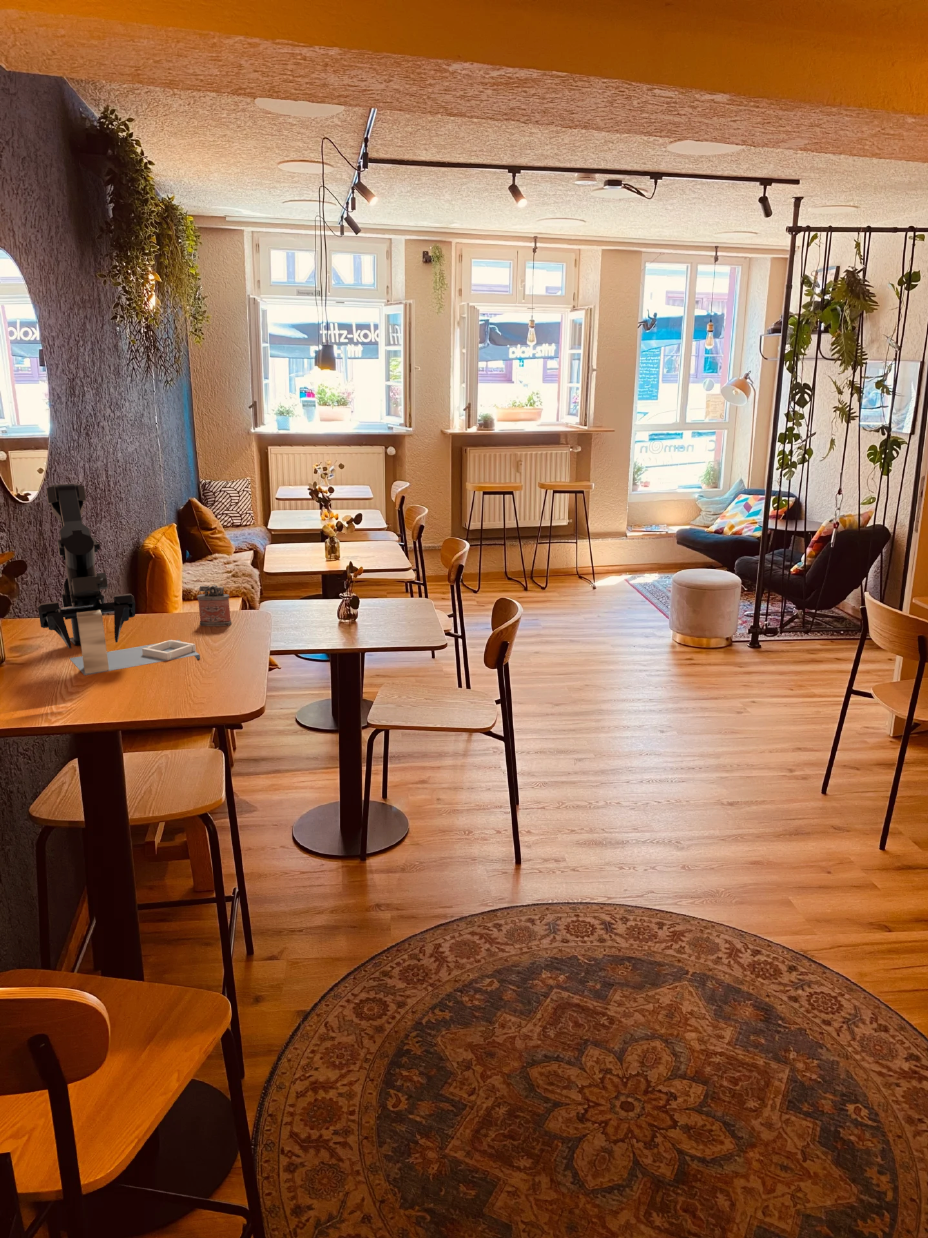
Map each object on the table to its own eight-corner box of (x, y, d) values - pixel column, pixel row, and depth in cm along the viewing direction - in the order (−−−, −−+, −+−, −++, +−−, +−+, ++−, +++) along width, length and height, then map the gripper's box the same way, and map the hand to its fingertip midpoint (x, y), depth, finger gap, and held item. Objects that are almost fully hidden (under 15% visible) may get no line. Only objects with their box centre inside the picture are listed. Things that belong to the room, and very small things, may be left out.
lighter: (233, 622, 229) (230, 584, 226) (228, 626, 226) (225, 587, 223) (202, 622, 230) (199, 584, 227) (197, 625, 226) (193, 587, 224)
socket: (142, 655, 199) (141, 648, 198) (171, 646, 205) (170, 639, 205) (167, 660, 195) (167, 653, 194) (195, 650, 201) (195, 644, 201)
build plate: (70, 662, 198) (69, 658, 197) (179, 643, 211) (178, 639, 210) (85, 679, 186) (84, 675, 185) (200, 658, 199) (199, 654, 198)
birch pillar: (83, 667, 190) (76, 612, 187) (107, 664, 192) (100, 609, 189) (85, 673, 186) (78, 617, 183) (109, 670, 188) (102, 614, 185)
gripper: (32, 565, 183) (41, 630, 176) (128, 556, 191) (141, 618, 184) (36, 595, 192) (45, 658, 185) (128, 585, 200) (140, 645, 193)
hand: (93, 644), depth 187 cm, fingers open, 9 cm apart
